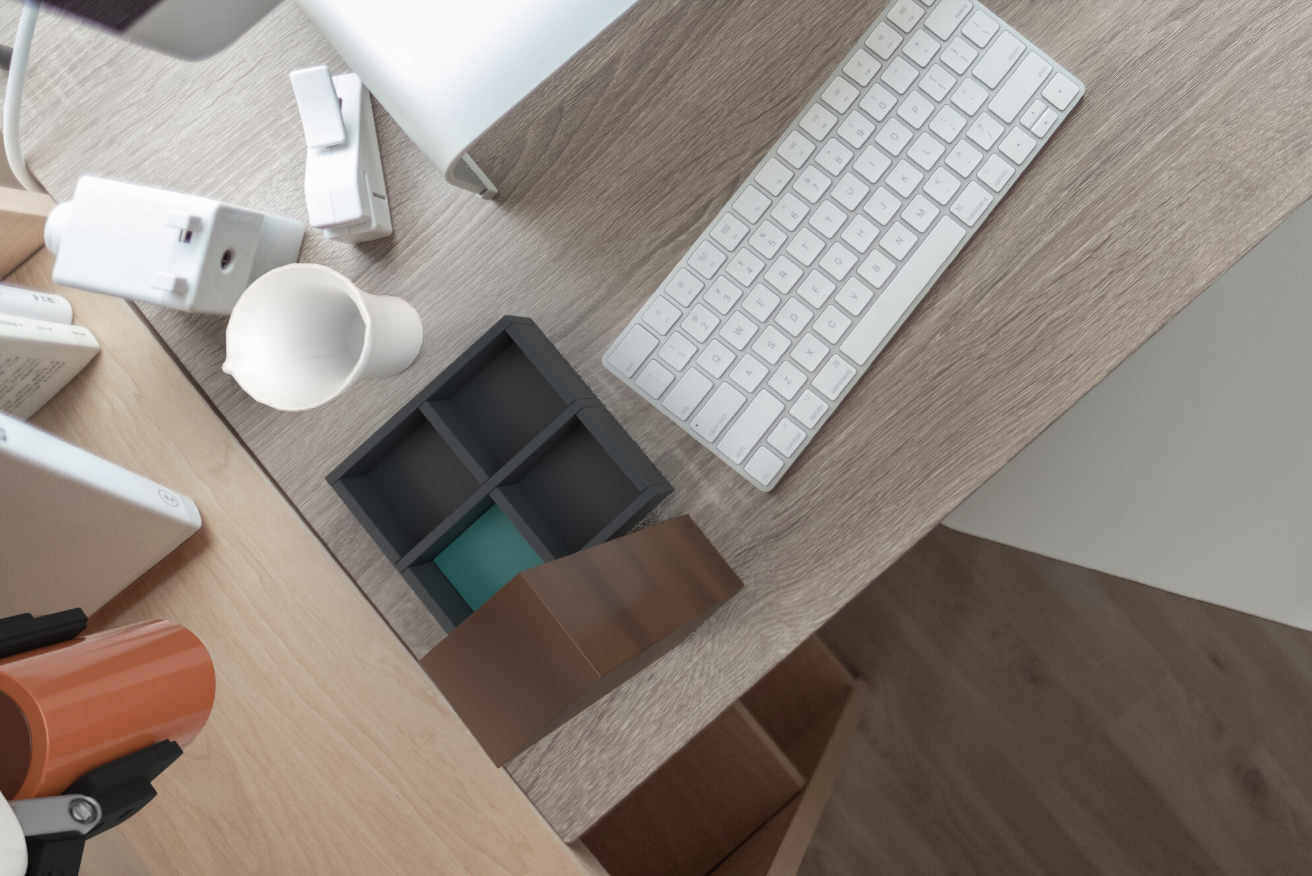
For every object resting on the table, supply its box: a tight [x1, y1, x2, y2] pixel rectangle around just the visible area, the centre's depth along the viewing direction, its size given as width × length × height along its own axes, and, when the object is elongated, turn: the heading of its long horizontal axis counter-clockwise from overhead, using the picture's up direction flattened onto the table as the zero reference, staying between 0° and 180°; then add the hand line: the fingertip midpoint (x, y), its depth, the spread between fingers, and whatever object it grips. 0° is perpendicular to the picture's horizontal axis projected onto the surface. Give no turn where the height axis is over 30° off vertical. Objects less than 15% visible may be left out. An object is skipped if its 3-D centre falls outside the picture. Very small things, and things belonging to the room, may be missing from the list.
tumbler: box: [0, 618, 217, 801], centre depth 41 cm, size 5×5×8 cm
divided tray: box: [324, 314, 675, 635], centre depth 76 cm, size 15×15×4 cm
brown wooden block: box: [418, 513, 745, 769], centre depth 64 cm, size 6×6×24 cm
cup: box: [221, 262, 424, 413], centre depth 74 cm, size 9×9×10 cm
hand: (97, 708), depth 42 cm, fingers closed on tumbler, 5 cm apart
